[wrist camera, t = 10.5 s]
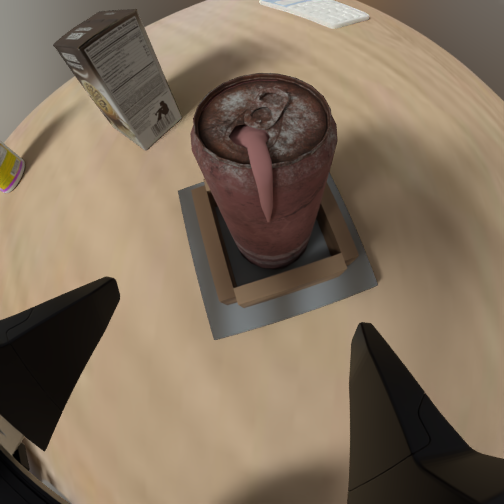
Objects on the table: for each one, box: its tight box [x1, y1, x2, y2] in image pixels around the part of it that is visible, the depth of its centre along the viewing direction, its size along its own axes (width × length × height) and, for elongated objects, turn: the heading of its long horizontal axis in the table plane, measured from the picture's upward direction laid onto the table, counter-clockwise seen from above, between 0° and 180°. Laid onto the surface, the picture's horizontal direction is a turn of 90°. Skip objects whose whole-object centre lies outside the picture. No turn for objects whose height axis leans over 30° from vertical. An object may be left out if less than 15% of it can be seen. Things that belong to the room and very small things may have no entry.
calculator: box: [259, 0, 369, 29], centre depth 36 cm, size 13×20×2 cm, turn 41°
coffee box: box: [53, 9, 182, 150], centre depth 22 cm, size 9×6×16 cm
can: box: [191, 73, 337, 269], centre depth 16 cm, size 6×6×14 cm
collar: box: [178, 173, 378, 340], centre depth 22 cm, size 14×14×4 cm
